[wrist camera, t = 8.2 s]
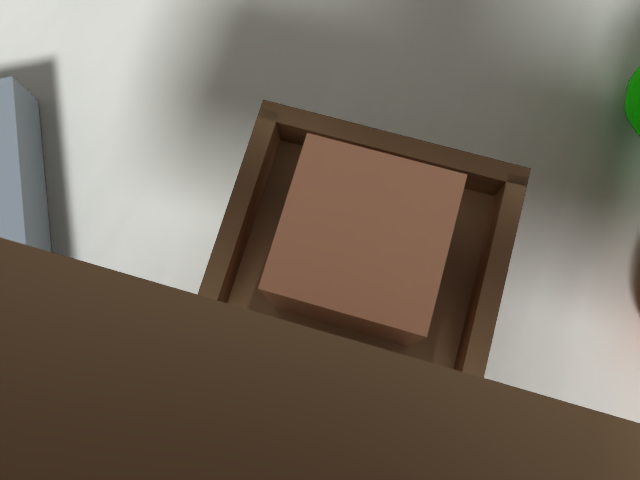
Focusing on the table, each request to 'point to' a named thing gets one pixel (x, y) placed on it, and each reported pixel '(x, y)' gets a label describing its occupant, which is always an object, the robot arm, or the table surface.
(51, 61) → the table surface
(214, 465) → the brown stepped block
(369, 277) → the block
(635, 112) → the molecular model
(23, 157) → the plate
